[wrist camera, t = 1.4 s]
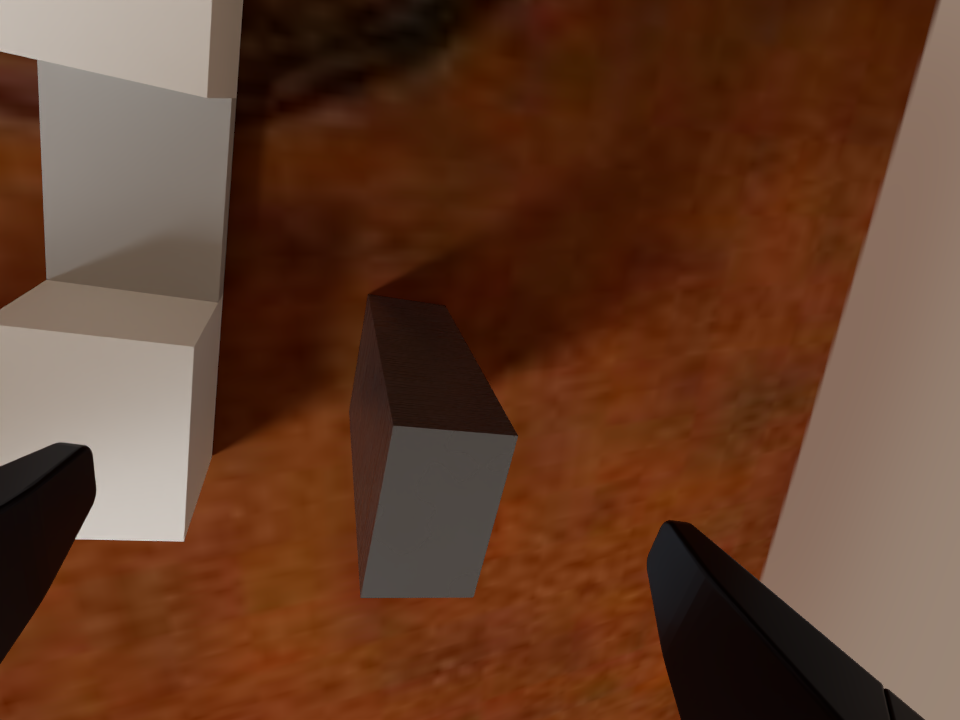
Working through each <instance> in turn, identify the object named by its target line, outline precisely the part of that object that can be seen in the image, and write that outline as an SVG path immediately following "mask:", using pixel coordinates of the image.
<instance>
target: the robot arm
mask: <svg viewBox="0 0 960 720" xmlns="http://www.w3.org/2000/svg"><path fill="white" fill-rule="evenodd" d="M95 497H96V480H95V470H94V461H93V454H92V451H91V449H90V448H89V447H88V446H86V445H81V444H73V443H65V442H58V443H55V444H52V445H49V446H47V447H45V448H42V449H40V450H38V451H35V452H33V453H30V454H28V455H26V456H23V457H21V458H19V459H16V460H14V461H12V462H9V463H7V464H4V465H2V466H0V664H1V662H2V661H3V659H4V658H5V656H6V655H7V653H8V652H9V650H10V649H11V647H12V646H13V644H14V643H15V641H16V640H17V638H18V637H19V635H20V634H21V632H22V631H23V629H24V628H25V626H26V625H27V623H28V622H29V620H30V619H31V617H32V616H33V614H34V613H35V611H36V610H37V608H38V606H39V605H40V603H41V602H42V600H43V598H44V597H45V595H46V593H47V591H48V590H49V588H50V586H51V584H52V582H53V580H54V579H55V577H56V575H57V573H58V571H59V569H60V567H61V565H62V563H63V561H64V559H65V558H66V556H67V554H68V552H69V550H70V548H71V546H72V544H73V542H74V540H75V538H76V537H77V535H78V533H79V531H80V529H81V527H82V525H83V523H84V521H85V519H86V517H87V516H88V514H89V512H90V510H91V508H92V506H93V504H94V501H95ZM647 572H648V578H649V583H650V589H651V594H652V600H653V605H654V611H655V616H656V622H657V627H658V633H659V638H660V644H661V648H662V653H663V658H664V661H665V665H666V669H667V673H668V676H669V680H670V683H671V687H672V690H673V693H674V697H675V700H676V704H677V707H678V711H679V714H680V718H681V720H925V719H923V718H922V717H921V716H920V715H919V714H917V713H916V712H915V711H914V710H912V709H911V708H910V707H909V706H908V705H907V704H905V703H904V702H903V701H902V700H901V699H899V698H898V697H897V696H896V695H895V694H894V693H892V692H891V691H890V690H888V689H884V688H883V685H882V684H881V683H880V682H879V681H878V680H876V678H874V677H873V676H872V675H871V674H869V673H868V672H867V671H866V670H865V669H864V668H862V667H861V666H860V665H859V664H858V663H856V662H855V661H854V660H853V659H851V658H850V657H849V656H848V655H847V654H846V653H845V652H843V651H842V650H841V649H840V648H839V647H837V646H836V645H835V644H834V643H833V642H831V641H830V640H829V639H828V638H827V637H825V636H824V635H823V634H822V633H821V632H820V631H818V630H817V629H816V628H815V627H814V626H812V625H811V624H810V623H809V622H808V621H806V620H805V619H804V618H803V617H802V616H800V615H799V614H798V613H797V612H796V611H794V610H793V609H792V608H791V607H790V606H789V605H787V604H786V603H785V602H784V601H783V600H781V599H780V598H779V597H778V596H777V595H775V594H774V593H773V592H772V591H771V590H769V589H768V588H767V587H766V586H765V585H764V584H762V583H761V582H760V581H759V580H758V579H756V578H755V577H754V576H753V575H752V574H750V573H749V572H748V571H747V570H746V569H744V568H743V567H742V566H741V565H740V564H738V563H737V562H736V561H735V560H734V559H733V558H731V557H730V556H729V555H728V554H727V553H725V552H724V551H723V550H722V549H721V548H719V547H718V546H717V545H716V544H715V543H713V542H712V541H711V540H710V539H709V538H708V537H706V536H705V535H704V534H703V533H702V532H700V531H699V530H698V529H697V528H696V527H694V526H693V525H692V524H690V523H687V522H680V521H673V520H668V521H666V522H664V523H663V524H662V526H661V528H660V530H659V532H658V535H657V537H656V539H655V541H654V543H653V546H652V548H651V550H650V552H649V555H648V558H647Z"/></svg>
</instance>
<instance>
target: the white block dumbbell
mask: <svg viewBox="0 0 960 720" xmlns="http://www.w3.org/2000/svg"><path fill="white" fill-rule="evenodd" d="M242 10H243V0H0V51H2V52H6V53H10V54H15V55H19V56H24V57H28V58H32V59H37V63H38V87H39V111H40V135H41V159H42V183H43V207H44V231H45V255H46V279H47V280H46V281H44V282H42V283H41V284H39V285H38V286H36V287H35V288H33V289H31V290H30V291H28V292H27V293H25V294H24V295H22V296H20V297H19V298H17V299H16V300H14V301H13V302H11V303H9V304H8V305H6V306H5V307H3V308H2V309H0V466H2V465H4V464H7V463H9V462H12V461H14V460H16V459H19V458H21V457H23V456H26V455H28V454H30V453H33V452H35V451H38V450H40V449H42V448H45V447H47V446H49V445H52V444H55V443H58V442H65V443H73V444H81V445H86V446H88V447H89V448H90V449H91V451H92V454H93V461H94V470H95V480H96V497H95V501H94V504H93V506H92V508H91V510H90V512H89V514H88V516H87V517H86V519H85V521H84V523H83V525H82V527H81V529H80V531H79V533H78V535H77V537H76V538H75V539H94V540H140V541H184V540H185V537H186V534H187V531H188V527H189V524H190V521H191V518H192V515H193V512H194V509H195V506H196V503H197V500H198V497H199V494H200V491H201V488H202V485H203V482H204V479H205V476H206V473H207V470H208V467H209V464H210V461H211V458H212V448H213V433H214V419H215V404H216V390H217V375H218V361H219V346H220V331H221V317H222V302H223V288H224V273H225V258H226V244H227V229H228V215H229V200H230V185H231V171H232V156H233V142H234V127H235V113H236V98H237V83H238V69H239V54H240V40H241V25H242Z"/></svg>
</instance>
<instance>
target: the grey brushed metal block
mask: <svg viewBox="0 0 960 720" xmlns="http://www.w3.org/2000/svg"><path fill="white" fill-rule="evenodd" d="M349 415H350V432H351V448H352V465H353V481H354V498H355V514H356V531H357V547H358V564H359V580H360V597H361V598H443V597H474V593H475V589H476V586H477V582H478V578H479V575H480V571H481V568H482V564H483V560H484V557H485V553H486V550H487V546H488V542H489V539H490V535H491V532H492V528H493V524H494V521H495V517H496V514H497V510H498V506H499V503H500V499H501V495H502V492H503V488H504V485H505V481H506V477H507V474H508V470H509V467H510V463H511V459H512V456H513V452H514V449H515V445H516V441H517V438H518V435H517V433H516V432H515V430H514V428H513V426H512V424H511V423H510V421H509V419H508V417H507V415H506V414H505V412H504V410H503V408H502V406H501V405H500V403H499V401H498V399H497V398H496V396H495V394H494V392H493V390H492V389H491V387H490V385H489V383H488V381H487V380H486V378H485V376H484V374H483V372H482V371H481V369H480V367H479V365H478V364H477V362H476V360H475V358H474V356H473V355H472V353H471V351H470V349H469V347H468V346H467V344H466V342H465V340H464V338H463V337H462V335H461V333H460V331H459V330H458V328H457V326H456V324H455V322H454V321H453V319H452V317H451V315H450V313H449V312H448V310H447V308H446V306H444V305H437V304H431V303H424V302H417V301H410V300H403V299H397V298H390V297H383V296H376V295H369V294H368V297H367V303H366V310H365V316H364V322H363V329H362V335H361V341H360V347H359V354H358V360H357V366H356V373H355V379H354V385H353V391H352V398H351V404H350V410H349Z"/></svg>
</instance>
